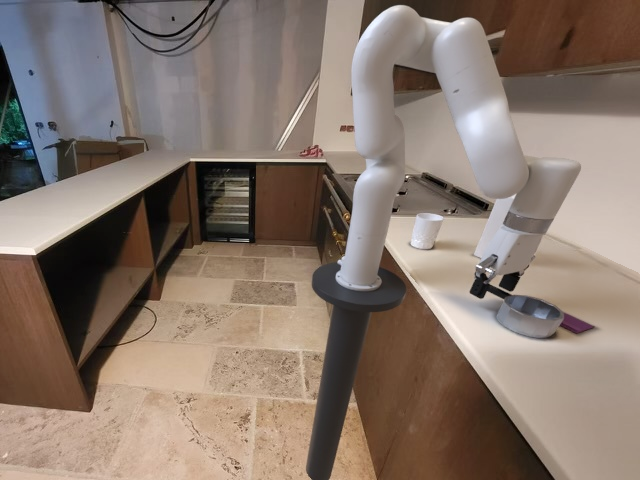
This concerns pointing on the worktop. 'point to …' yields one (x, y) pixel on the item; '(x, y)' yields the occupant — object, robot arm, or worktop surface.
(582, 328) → the purple flat block
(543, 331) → the pan
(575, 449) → the worktop surface
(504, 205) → the milk
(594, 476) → the worktop surface
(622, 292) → the worktop surface
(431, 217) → the white cup
